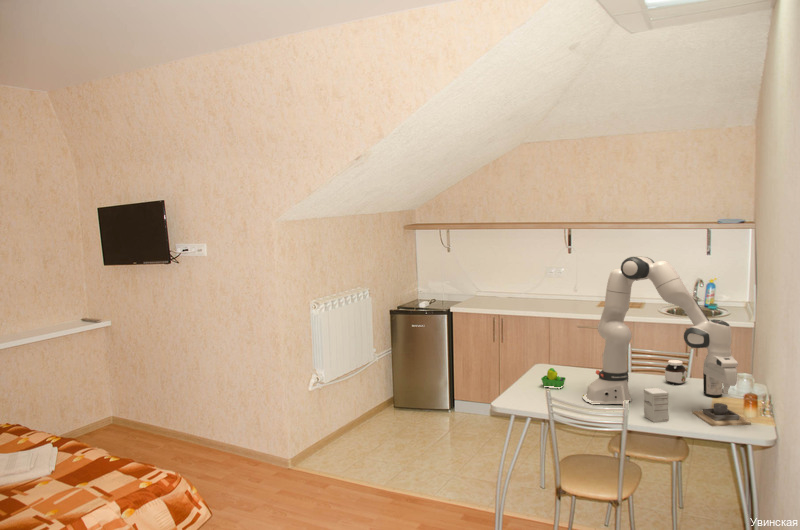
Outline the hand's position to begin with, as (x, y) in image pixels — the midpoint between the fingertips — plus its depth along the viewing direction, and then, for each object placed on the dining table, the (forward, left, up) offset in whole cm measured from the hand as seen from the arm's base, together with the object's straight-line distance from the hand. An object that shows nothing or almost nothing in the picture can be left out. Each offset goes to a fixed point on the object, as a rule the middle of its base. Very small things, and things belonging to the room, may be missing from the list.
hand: (718, 390), depth 237 cm
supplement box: (-25, +3, -13) cm, 28 cm away
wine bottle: (+15, +32, -13) cm, 38 cm away
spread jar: (+8, +57, -13) cm, 59 cm away
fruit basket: (-56, +56, -13) cm, 81 cm away
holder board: (+1, 0, -13) cm, 12 cm away
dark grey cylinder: (+1, 0, -12) cm, 12 cm away
